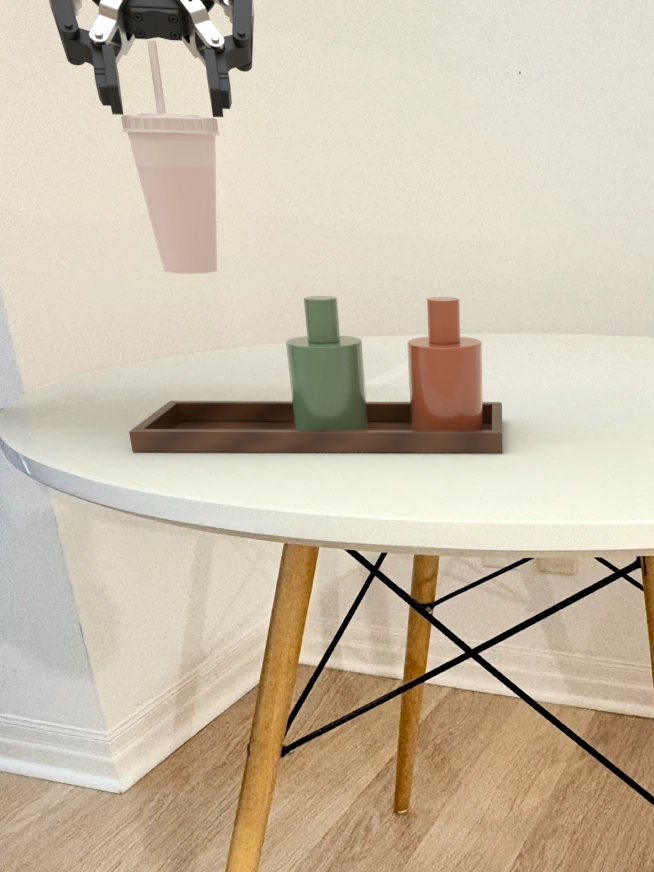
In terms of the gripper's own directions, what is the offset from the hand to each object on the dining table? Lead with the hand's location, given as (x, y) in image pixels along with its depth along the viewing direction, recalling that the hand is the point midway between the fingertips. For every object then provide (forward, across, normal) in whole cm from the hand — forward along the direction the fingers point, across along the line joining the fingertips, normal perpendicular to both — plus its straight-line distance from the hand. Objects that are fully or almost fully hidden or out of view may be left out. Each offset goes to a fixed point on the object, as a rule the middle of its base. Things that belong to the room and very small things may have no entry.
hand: (167, 104), depth 67 cm
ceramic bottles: (+18, +13, +13) cm, 26 cm away
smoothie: (+6, 0, +9) cm, 11 cm away
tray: (+17, +8, +15) cm, 24 cm away
